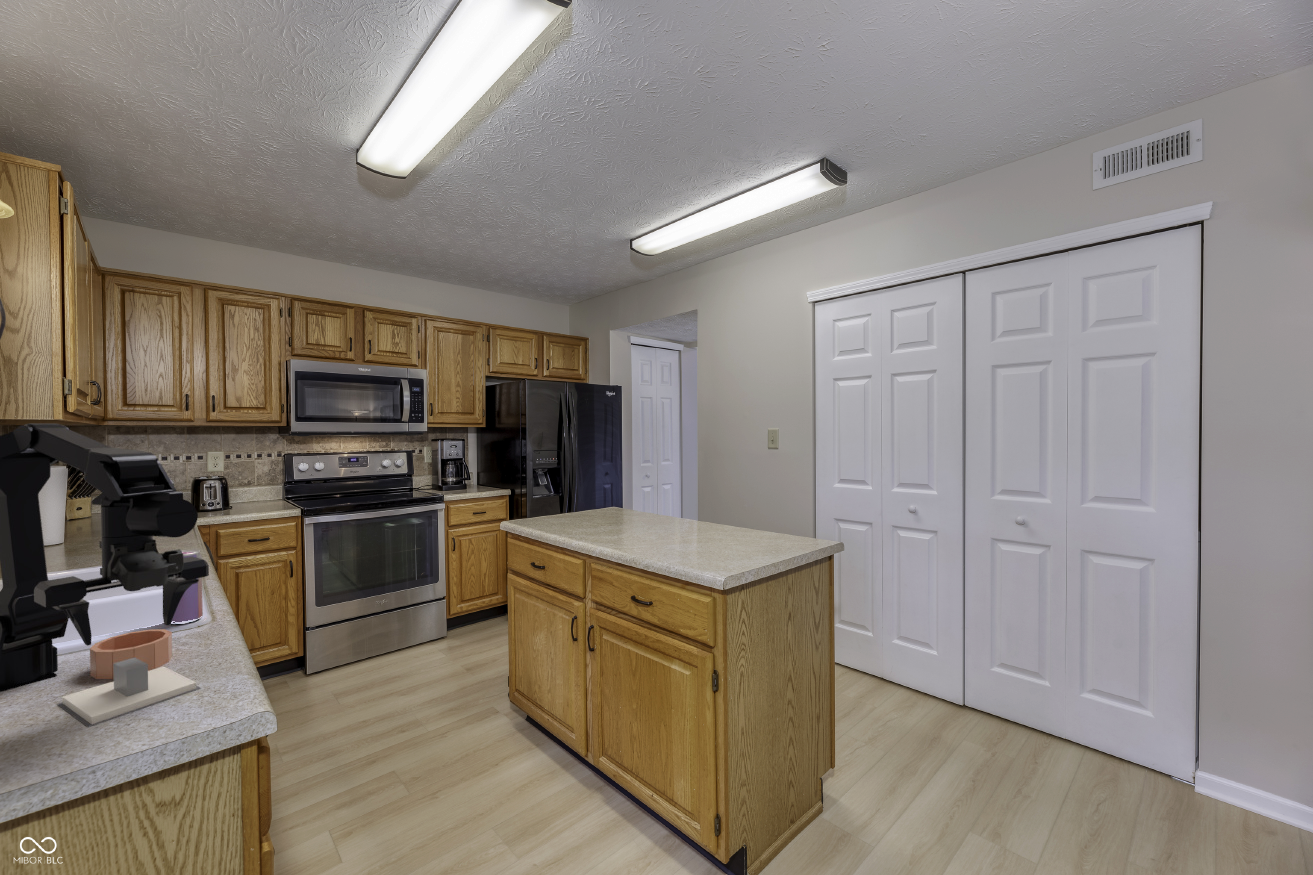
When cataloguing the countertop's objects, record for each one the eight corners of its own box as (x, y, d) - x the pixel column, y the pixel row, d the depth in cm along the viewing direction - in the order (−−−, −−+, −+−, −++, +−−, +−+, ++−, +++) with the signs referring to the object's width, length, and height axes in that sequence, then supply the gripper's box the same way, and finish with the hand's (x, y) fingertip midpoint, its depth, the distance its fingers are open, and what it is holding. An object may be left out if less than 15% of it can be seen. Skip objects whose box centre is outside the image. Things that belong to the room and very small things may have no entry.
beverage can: (186, 626, 116) (185, 555, 116) (158, 625, 116) (157, 555, 116) (209, 616, 122) (208, 549, 122) (183, 616, 122) (182, 549, 122)
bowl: (104, 686, 89) (104, 656, 89) (82, 673, 94) (81, 644, 94) (181, 663, 98) (180, 635, 98) (157, 652, 103) (156, 625, 103)
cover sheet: (91, 724, 77) (91, 689, 77) (62, 703, 83) (61, 670, 83) (196, 688, 88) (195, 657, 87) (163, 672, 93) (163, 643, 93)
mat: (88, 730, 76) (88, 727, 76) (56, 707, 83) (56, 703, 83) (201, 691, 88) (201, 688, 88) (166, 673, 94) (166, 670, 94)
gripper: (58, 552, 73) (60, 669, 73) (224, 529, 89) (225, 625, 89) (31, 543, 78) (34, 652, 78) (192, 523, 94) (194, 613, 95)
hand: (129, 634), depth 85 cm, fingers open, 9 cm apart
